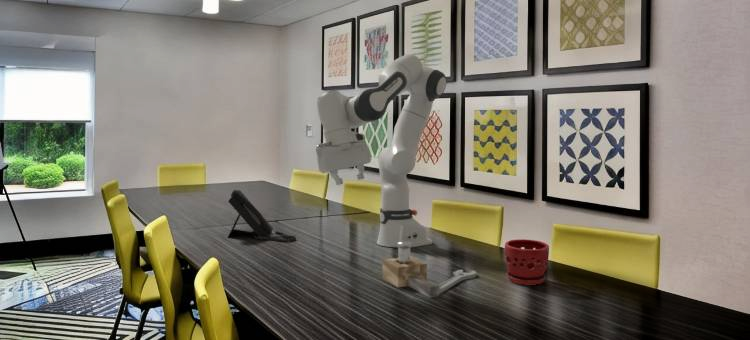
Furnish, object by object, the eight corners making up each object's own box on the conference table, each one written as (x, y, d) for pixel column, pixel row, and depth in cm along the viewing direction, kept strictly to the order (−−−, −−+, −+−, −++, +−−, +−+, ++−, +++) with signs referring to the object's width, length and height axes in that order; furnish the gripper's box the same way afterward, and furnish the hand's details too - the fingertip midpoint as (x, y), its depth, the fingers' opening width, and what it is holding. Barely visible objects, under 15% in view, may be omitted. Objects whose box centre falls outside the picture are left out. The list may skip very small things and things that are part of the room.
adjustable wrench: (438, 296, 153) (438, 290, 153) (419, 292, 157) (419, 286, 157) (478, 276, 172) (478, 271, 172) (461, 273, 176) (461, 267, 176)
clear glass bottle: (406, 271, 168) (406, 240, 167) (414, 275, 164) (414, 243, 164) (394, 273, 166) (394, 241, 165) (401, 277, 162) (401, 244, 162)
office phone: (295, 242, 217) (295, 193, 215) (223, 243, 214) (222, 193, 212) (297, 228, 246) (297, 184, 244) (234, 229, 243) (233, 184, 241)
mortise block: (409, 274, 172) (410, 256, 172) (449, 294, 153) (449, 274, 152) (382, 278, 168) (382, 259, 167) (419, 299, 148) (419, 278, 148)
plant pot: (499, 275, 173) (501, 238, 172) (540, 276, 173) (542, 239, 172) (508, 287, 160) (510, 247, 159) (553, 288, 160) (554, 248, 159)
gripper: (321, 141, 164) (332, 185, 163) (368, 134, 178) (379, 174, 178) (308, 146, 168) (320, 189, 168) (355, 139, 183) (366, 178, 182)
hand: (350, 181), depth 173 cm, fingers open, 8 cm apart
